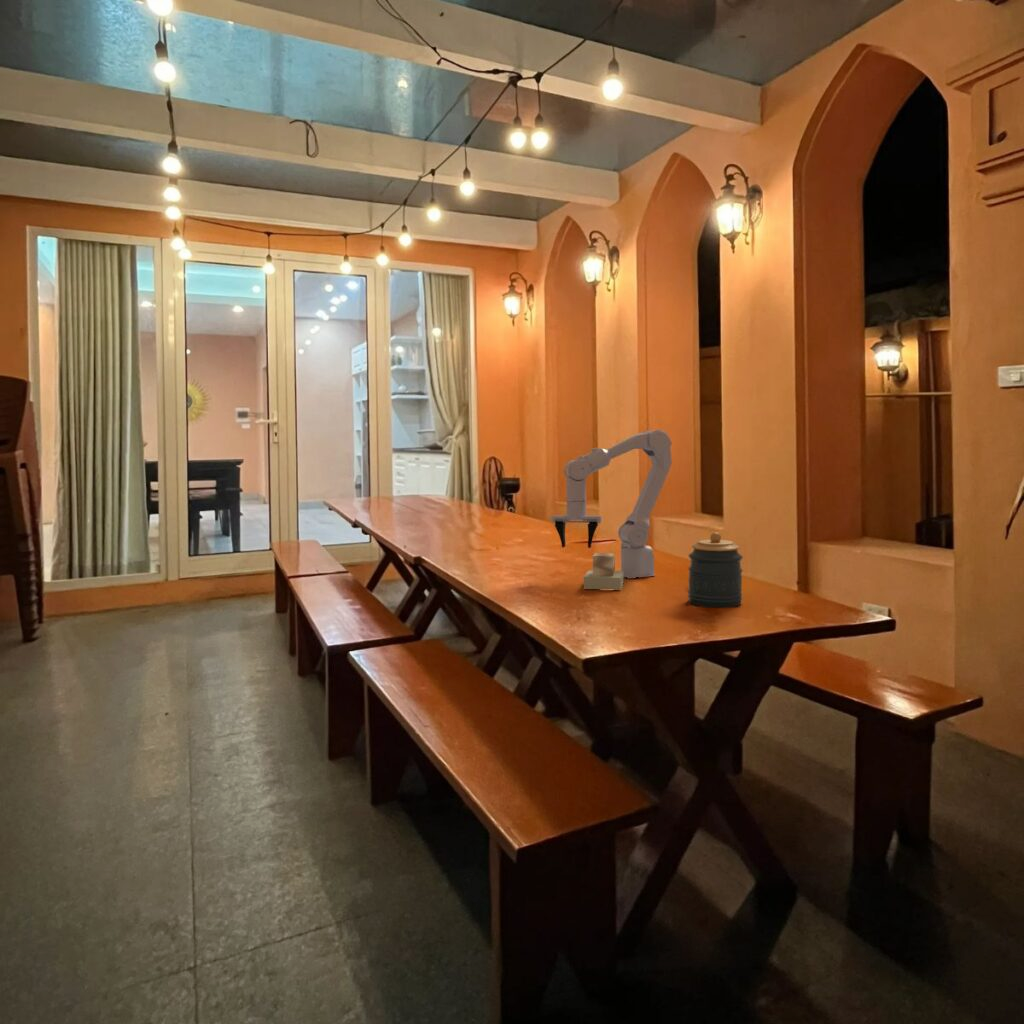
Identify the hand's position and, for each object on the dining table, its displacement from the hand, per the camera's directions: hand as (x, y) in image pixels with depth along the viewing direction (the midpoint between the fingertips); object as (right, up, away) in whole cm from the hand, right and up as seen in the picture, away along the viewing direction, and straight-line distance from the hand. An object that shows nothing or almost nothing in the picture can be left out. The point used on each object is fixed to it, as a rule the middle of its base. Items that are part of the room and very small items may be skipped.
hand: (576, 547), depth 215 cm
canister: (+31, -13, -33) cm, 47 cm away
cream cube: (+7, -7, -12) cm, 15 cm away
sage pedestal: (+7, -11, -11) cm, 17 cm away
